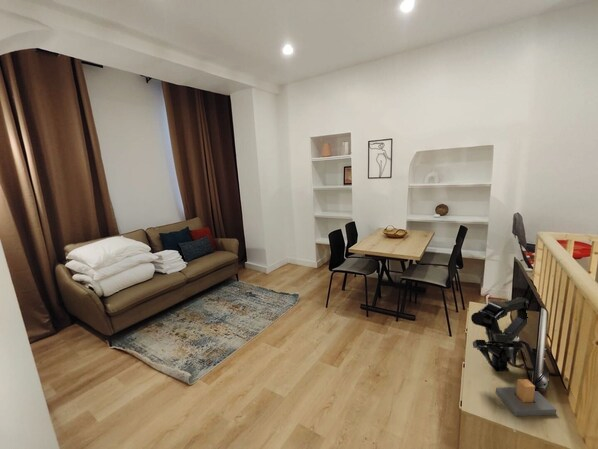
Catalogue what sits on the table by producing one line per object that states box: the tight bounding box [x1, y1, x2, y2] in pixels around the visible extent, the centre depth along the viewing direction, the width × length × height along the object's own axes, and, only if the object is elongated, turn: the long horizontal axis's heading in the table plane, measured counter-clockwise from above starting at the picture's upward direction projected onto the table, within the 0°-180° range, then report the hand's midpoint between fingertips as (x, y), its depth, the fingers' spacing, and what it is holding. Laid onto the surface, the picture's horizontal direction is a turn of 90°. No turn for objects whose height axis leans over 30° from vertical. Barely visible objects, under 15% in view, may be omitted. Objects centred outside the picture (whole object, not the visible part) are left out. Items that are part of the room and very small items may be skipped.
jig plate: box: [495, 386, 558, 417], centre depth 117 cm, size 12×16×2 cm
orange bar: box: [516, 378, 536, 403], centre depth 117 cm, size 4×4×10 cm
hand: (502, 365), depth 122 cm, fingers open, 9 cm apart
